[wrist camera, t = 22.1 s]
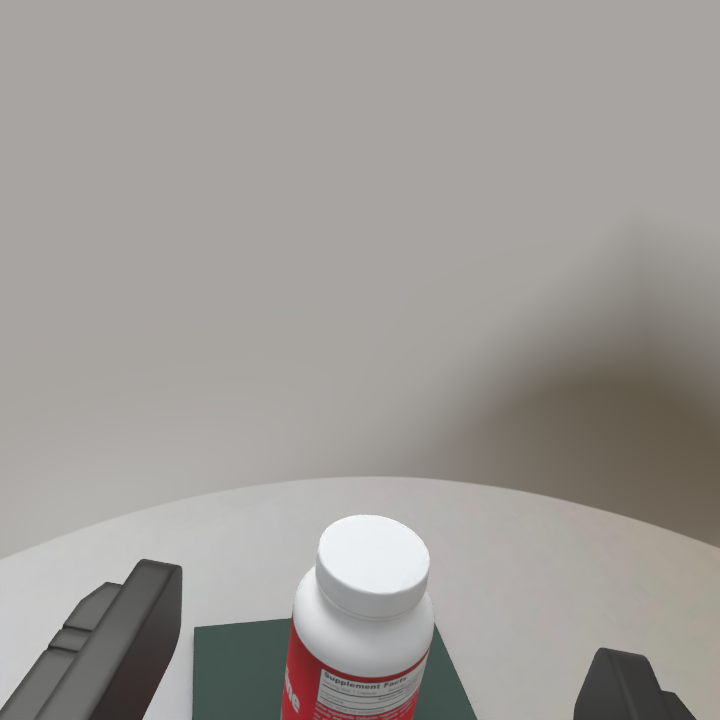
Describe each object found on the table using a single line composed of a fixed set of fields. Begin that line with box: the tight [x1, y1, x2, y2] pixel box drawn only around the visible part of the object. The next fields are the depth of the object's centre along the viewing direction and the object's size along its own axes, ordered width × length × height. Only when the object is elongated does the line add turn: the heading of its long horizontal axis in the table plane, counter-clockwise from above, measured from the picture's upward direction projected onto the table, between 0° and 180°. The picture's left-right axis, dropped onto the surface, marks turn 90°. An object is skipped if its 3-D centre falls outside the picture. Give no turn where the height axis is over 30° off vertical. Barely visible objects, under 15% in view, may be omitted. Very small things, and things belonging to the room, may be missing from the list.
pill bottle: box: [281, 515, 434, 720], centre depth 26 cm, size 6×6×11 cm
